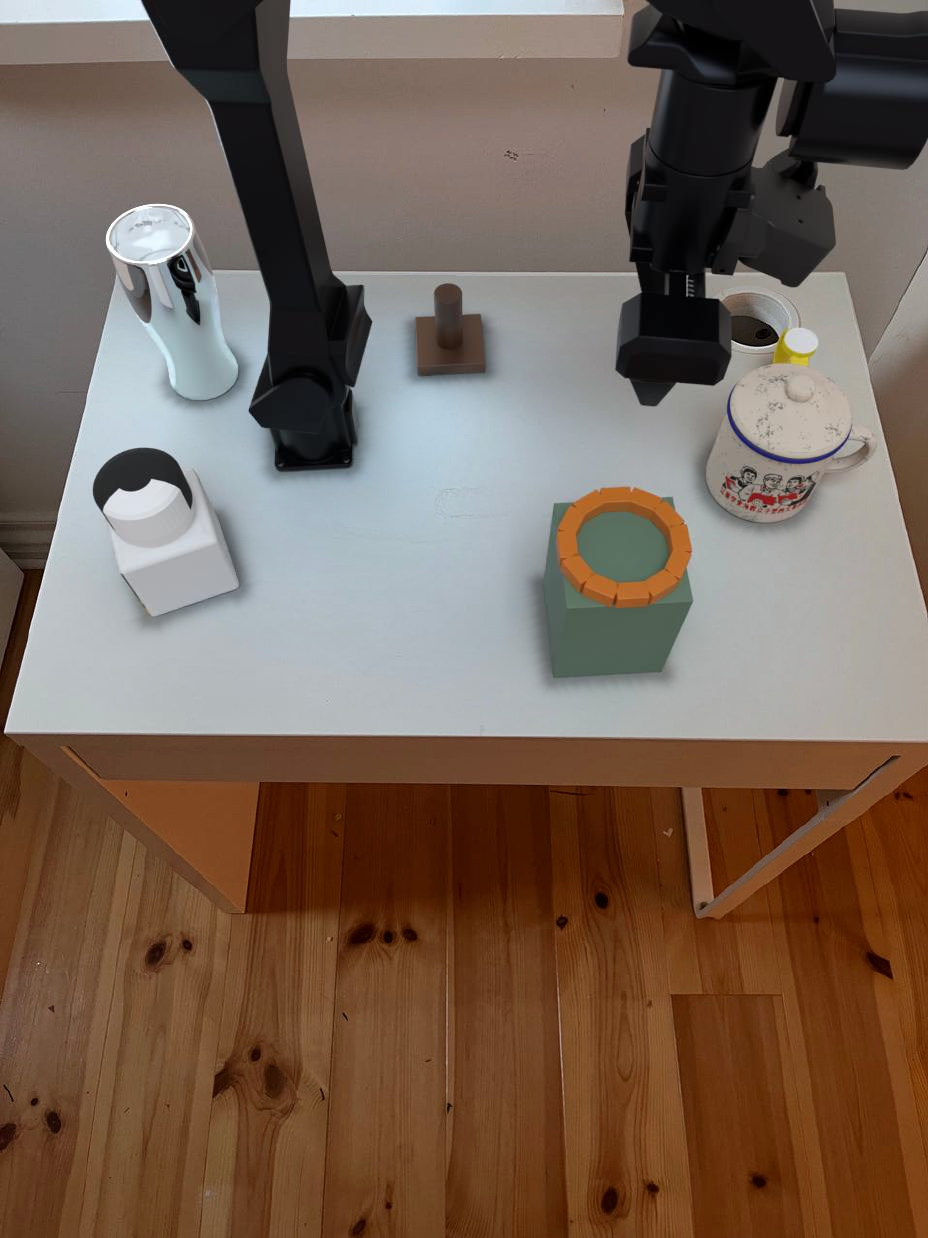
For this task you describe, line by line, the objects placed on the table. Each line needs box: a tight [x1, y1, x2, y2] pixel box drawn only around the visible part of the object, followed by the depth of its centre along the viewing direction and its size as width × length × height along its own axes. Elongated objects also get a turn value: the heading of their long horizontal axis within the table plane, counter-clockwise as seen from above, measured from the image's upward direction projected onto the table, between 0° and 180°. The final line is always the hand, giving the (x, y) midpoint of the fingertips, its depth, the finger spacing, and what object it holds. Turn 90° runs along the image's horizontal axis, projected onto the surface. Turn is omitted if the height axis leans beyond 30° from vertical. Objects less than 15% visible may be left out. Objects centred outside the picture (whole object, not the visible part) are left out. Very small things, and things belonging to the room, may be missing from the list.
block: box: [542, 496, 694, 679], centre depth 63 cm, size 8×8×11 cm
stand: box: [414, 282, 486, 377], centre depth 78 cm, size 6×6×6 cm
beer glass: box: [105, 203, 239, 401], centre depth 73 cm, size 7×7×15 cm
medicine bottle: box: [92, 447, 240, 618], centre depth 65 cm, size 7×7×12 cm
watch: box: [771, 327, 819, 367], centre depth 76 cm, size 6×3×6 cm, turn 175°
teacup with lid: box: [705, 362, 878, 524], centre depth 68 cm, size 12×9×12 cm
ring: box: [556, 486, 693, 608], centre depth 57 cm, size 8×8×1 cm
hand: (650, 352), depth 62 cm, fingers open, 9 cm apart
